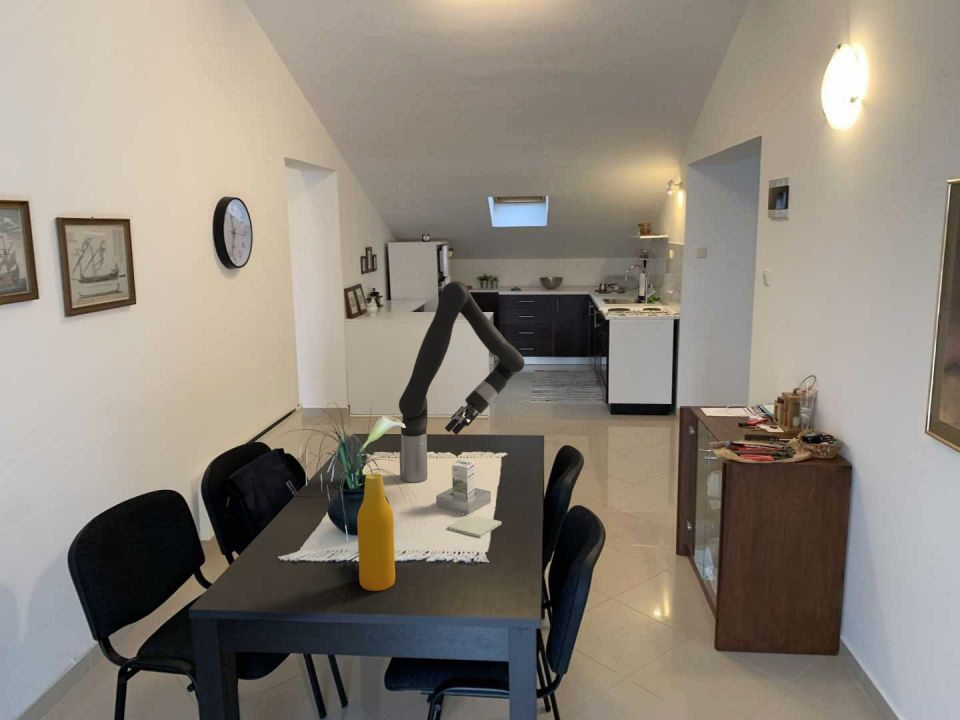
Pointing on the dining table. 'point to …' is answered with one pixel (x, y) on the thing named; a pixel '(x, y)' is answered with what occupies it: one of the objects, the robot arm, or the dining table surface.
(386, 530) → the beer bottle
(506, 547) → the dining table surface
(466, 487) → the syrup box
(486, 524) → the pad
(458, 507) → the housing
